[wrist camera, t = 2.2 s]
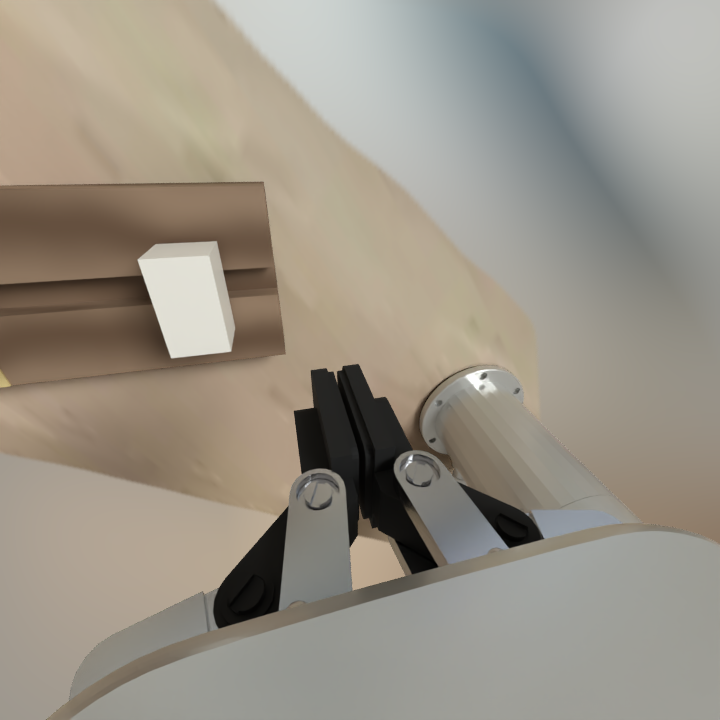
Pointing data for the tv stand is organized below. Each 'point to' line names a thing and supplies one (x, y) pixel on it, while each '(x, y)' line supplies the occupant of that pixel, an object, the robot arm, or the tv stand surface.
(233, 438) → the tv stand surface
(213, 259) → the fader knob
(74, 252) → the fader console
